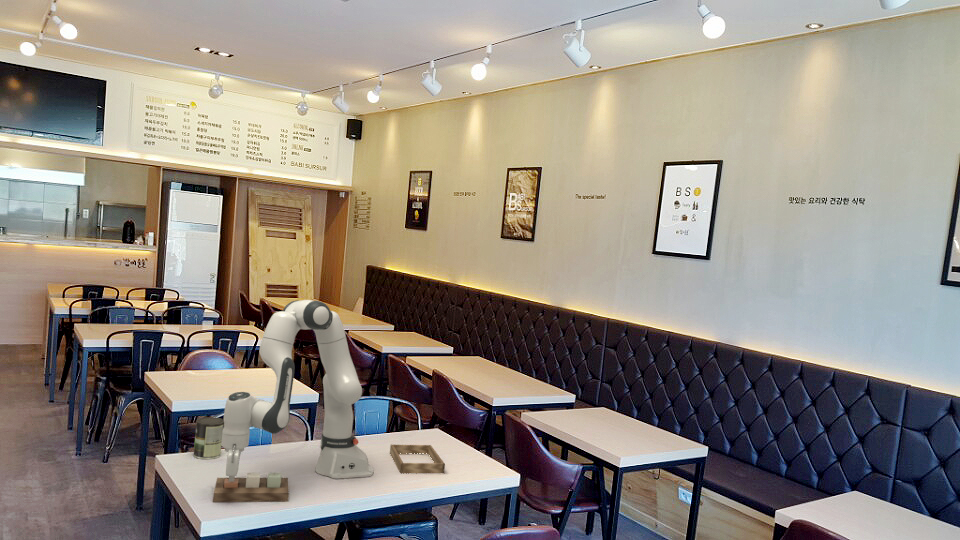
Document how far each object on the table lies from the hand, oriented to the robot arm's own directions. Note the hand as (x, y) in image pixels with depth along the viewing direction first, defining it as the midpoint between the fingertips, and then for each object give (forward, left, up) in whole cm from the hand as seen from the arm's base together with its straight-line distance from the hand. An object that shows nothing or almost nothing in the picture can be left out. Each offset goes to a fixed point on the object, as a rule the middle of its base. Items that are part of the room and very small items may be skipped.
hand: (231, 480), depth 233 cm
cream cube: (-7, 0, -2) cm, 7 cm away
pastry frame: (-72, -34, -5) cm, 80 cm away
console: (-7, 0, -5) cm, 8 cm away
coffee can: (+11, -42, -5) cm, 44 cm away
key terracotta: (0, 0, -4) cm, 4 cm away
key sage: (-14, 0, -2) cm, 14 cm away
